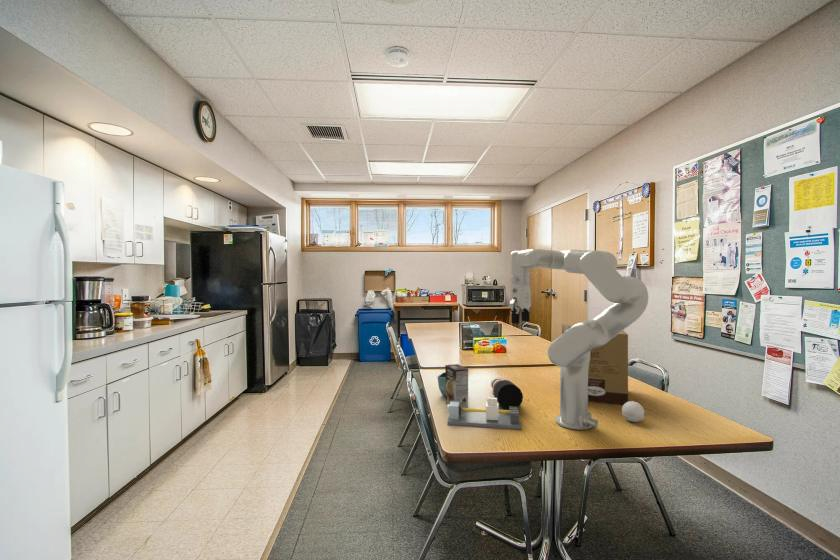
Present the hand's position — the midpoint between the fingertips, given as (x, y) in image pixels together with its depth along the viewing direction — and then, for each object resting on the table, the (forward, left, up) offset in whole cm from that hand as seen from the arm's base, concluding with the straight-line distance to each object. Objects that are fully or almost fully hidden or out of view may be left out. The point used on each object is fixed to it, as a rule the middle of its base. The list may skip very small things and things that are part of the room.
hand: (520, 322), depth 152 cm
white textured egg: (-36, -21, -35) cm, 54 cm away
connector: (+6, +31, -34) cm, 46 cm away
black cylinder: (+12, -2, -35) cm, 38 cm away
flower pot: (+29, +14, -35) cm, 48 cm away
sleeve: (-4, +21, -33) cm, 40 cm away
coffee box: (+17, +20, -35) cm, 44 cm away
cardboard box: (-8, -40, -35) cm, 54 cm away
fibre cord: (-3, +22, -31) cm, 39 cm away
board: (-2, +23, -35) cm, 42 cm away
